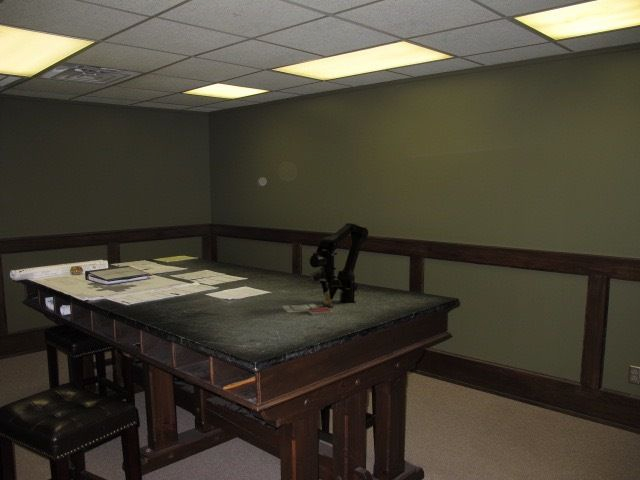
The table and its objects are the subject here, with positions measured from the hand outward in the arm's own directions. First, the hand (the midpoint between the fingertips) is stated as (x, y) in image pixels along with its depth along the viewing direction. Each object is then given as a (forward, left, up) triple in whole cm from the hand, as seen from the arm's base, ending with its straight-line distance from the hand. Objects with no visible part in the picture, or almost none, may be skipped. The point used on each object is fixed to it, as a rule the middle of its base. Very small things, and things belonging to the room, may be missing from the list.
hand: (328, 297), depth 243 cm
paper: (+13, -1, -5) cm, 14 cm away
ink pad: (+7, +9, -5) cm, 12 cm away
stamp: (0, 0, -5) cm, 5 cm away
